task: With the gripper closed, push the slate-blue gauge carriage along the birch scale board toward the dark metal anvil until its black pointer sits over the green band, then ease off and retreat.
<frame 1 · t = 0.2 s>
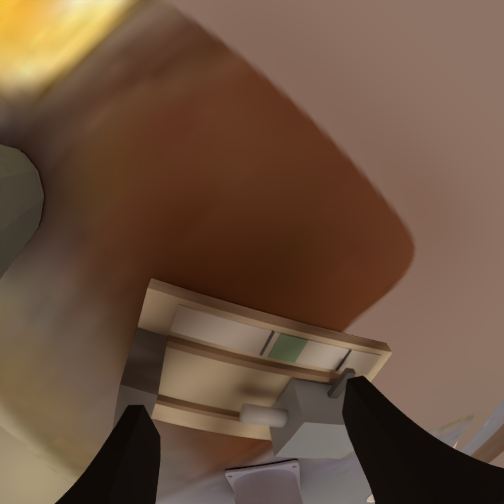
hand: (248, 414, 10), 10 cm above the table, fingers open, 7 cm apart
disposable coffee cup: (12, 192, 16), on the table
gauge carriage: (310, 409, 20), point 4 cm above the table, slide at 0.0 cm
scale board: (251, 379, 23), on the table
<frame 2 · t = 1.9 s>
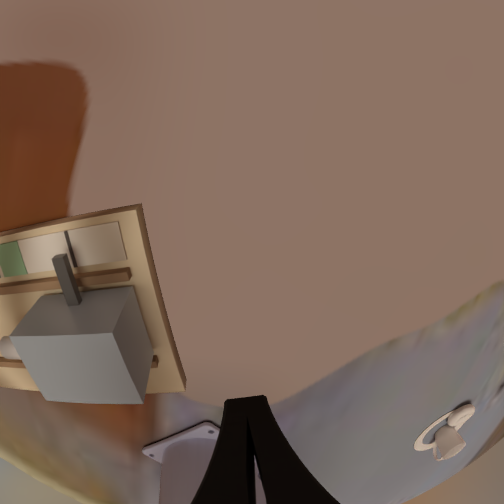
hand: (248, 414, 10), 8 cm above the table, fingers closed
teacup and saucer: (459, 416, 29), on the table
gauge carriage: (52, 327, 14), point 4 cm above the table, slide at 0.0 cm
scale board: (40, 315, 17), on the table
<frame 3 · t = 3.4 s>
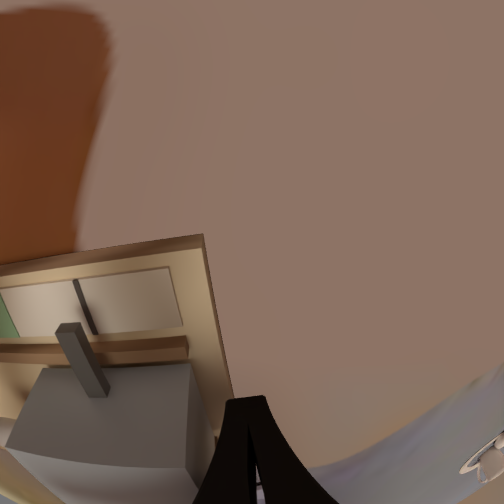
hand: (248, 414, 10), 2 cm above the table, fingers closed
teacup and saucer: (502, 436, 23), on the table
gauge carriage: (68, 424, 8), point 3 cm above the table, slide at 0.0 cm, touching gripper
scale board: (43, 381, 12), on the table
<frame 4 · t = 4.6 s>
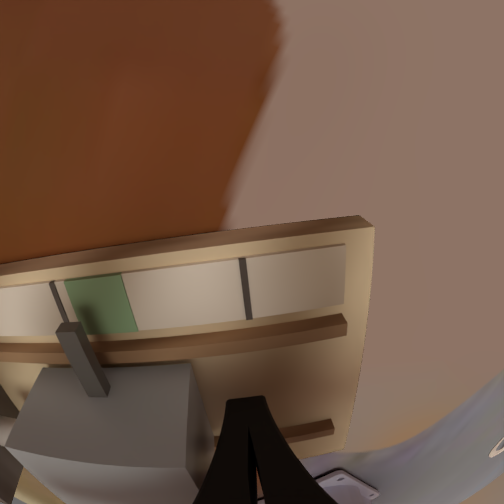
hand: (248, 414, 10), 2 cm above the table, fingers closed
gauge carriage: (68, 424, 8), point 3 cm above the table, slide at 5.1 cm, touching gripper
scale board: (136, 381, 12), on the table
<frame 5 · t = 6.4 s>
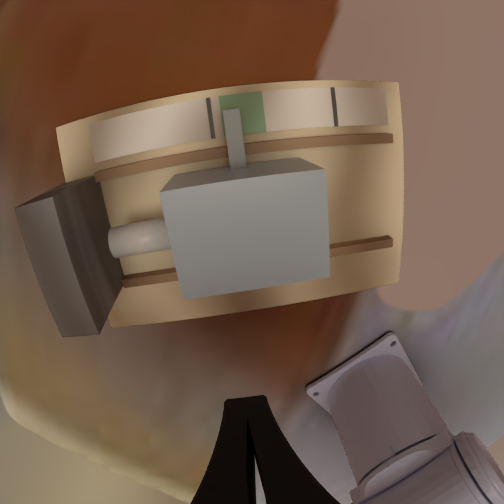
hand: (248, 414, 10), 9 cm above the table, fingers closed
gauge carriage: (206, 197, 13), point 3 cm above the table, slide at 5.1 cm
scale board: (242, 201, 17), on the table
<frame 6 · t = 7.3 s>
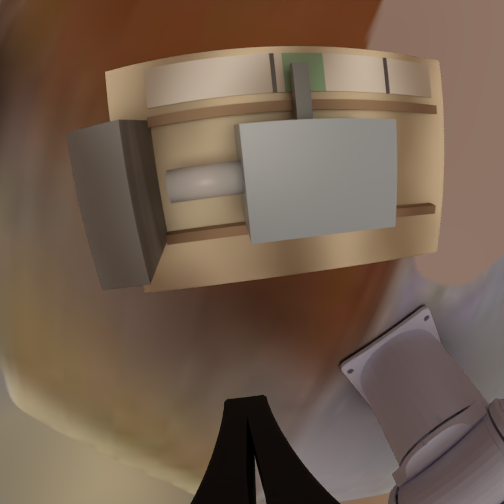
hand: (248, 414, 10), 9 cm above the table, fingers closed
gauge carriage: (275, 142, 12), point 3 cm above the table, slide at 5.1 cm
scale board: (295, 160, 16), on the table
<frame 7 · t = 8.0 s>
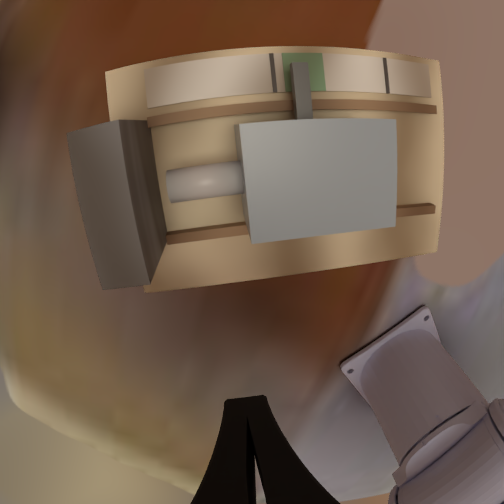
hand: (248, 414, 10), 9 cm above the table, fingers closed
gauge carriage: (275, 142, 12), point 3 cm above the table, slide at 5.1 cm
scale board: (295, 160, 16), on the table
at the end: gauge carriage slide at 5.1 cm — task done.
